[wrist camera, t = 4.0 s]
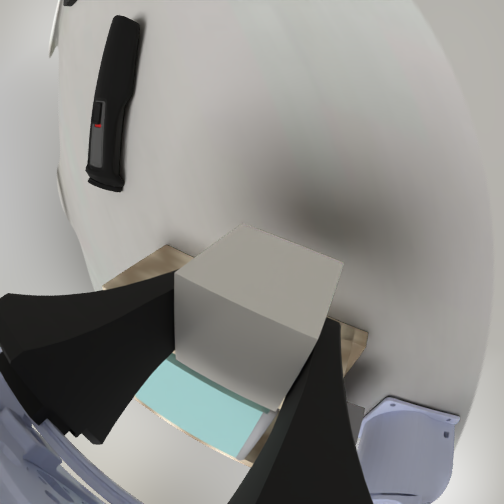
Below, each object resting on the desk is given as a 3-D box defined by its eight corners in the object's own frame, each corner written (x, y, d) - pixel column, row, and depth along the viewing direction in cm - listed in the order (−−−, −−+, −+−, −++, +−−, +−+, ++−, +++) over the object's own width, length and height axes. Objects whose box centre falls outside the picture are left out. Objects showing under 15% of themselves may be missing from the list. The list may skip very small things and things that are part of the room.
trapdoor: (368, 404, 15) (357, 448, 12) (307, 454, 21) (295, 482, 18) (143, 297, 20) (111, 322, 17) (155, 377, 26) (135, 397, 23)
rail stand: (368, 332, 17) (350, 416, 11) (295, 426, 26) (271, 476, 20) (166, 244, 22) (102, 285, 16) (169, 362, 31) (134, 399, 25)
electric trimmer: (159, 19, 14) (129, 11, 11) (127, 192, 22) (99, 202, 19) (130, 23, 15) (102, 18, 12) (103, 181, 23) (77, 189, 20)
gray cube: (344, 262, 9) (317, 339, 6) (309, 338, 11) (275, 411, 8) (242, 223, 10) (174, 272, 7) (228, 301, 12) (175, 359, 9)
